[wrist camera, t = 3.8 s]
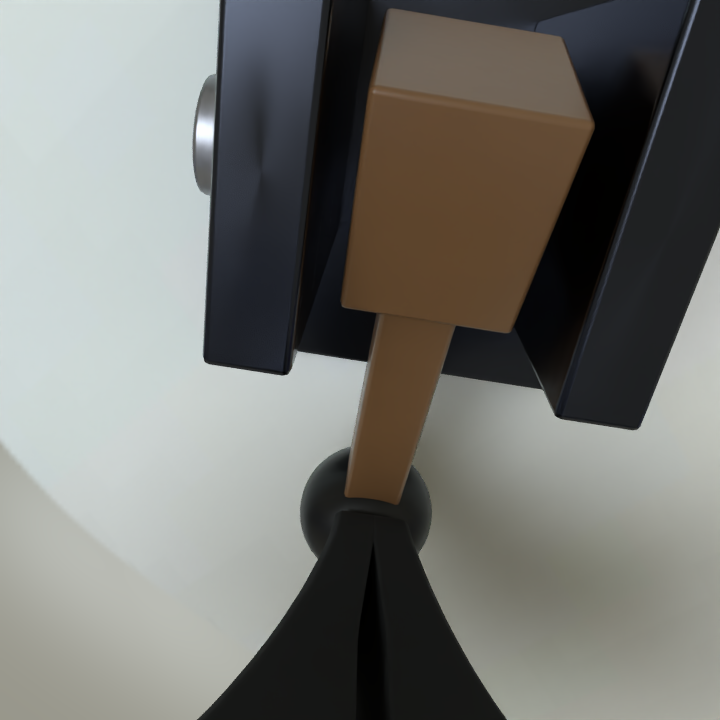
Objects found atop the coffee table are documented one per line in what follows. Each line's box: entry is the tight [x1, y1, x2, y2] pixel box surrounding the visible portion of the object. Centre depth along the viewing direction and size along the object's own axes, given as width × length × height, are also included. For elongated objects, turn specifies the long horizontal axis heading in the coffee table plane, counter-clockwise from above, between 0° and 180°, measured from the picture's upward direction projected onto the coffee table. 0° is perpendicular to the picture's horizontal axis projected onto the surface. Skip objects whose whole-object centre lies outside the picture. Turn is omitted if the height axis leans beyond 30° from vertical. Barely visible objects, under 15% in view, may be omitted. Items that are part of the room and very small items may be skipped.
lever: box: [300, 8, 595, 559], centre depth 11 cm, size 11×3×3 cm, turn 172°
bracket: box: [193, 0, 720, 430], centre depth 10 cm, size 10×8×8 cm
